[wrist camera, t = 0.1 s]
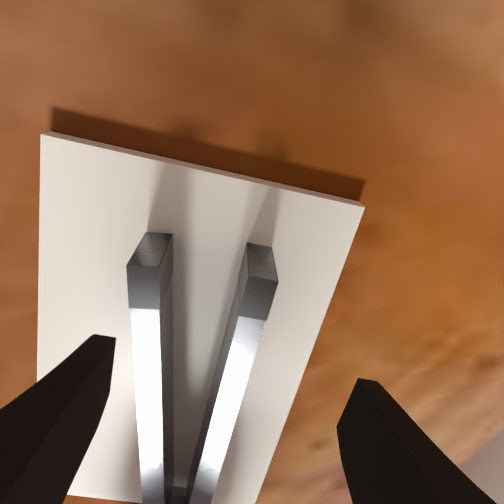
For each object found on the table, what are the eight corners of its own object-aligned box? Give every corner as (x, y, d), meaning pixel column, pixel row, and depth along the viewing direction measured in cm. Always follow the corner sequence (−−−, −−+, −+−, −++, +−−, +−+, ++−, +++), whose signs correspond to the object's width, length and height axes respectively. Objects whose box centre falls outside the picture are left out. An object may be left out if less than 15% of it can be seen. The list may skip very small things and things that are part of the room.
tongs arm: (175, 481, 26) (165, 539, 23) (155, 480, 26) (143, 539, 23) (172, 233, 19) (159, 267, 16) (145, 232, 19) (126, 265, 15)
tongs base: (198, 509, 28) (192, 573, 24) (152, 503, 27) (139, 568, 24) (271, 247, 19) (279, 286, 16) (207, 233, 19) (200, 270, 15)
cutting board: (249, 502, 29) (250, 516, 28) (42, 477, 27) (35, 490, 26) (359, 201, 20) (365, 207, 19) (50, 131, 18) (40, 134, 17)
